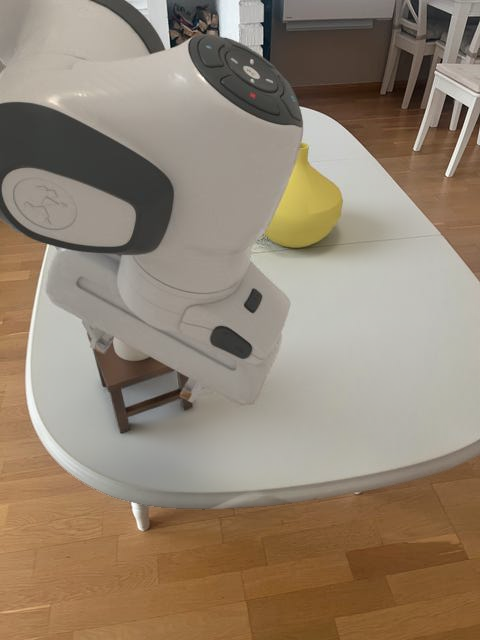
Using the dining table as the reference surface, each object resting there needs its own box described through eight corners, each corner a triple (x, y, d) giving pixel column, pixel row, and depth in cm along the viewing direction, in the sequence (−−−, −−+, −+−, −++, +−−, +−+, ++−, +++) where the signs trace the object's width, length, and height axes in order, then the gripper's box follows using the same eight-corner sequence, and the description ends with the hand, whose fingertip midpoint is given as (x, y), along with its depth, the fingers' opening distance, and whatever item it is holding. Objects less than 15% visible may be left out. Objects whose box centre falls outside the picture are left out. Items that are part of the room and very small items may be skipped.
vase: (264, 206, 117) (267, 121, 104) (345, 221, 112) (359, 133, 100) (236, 249, 104) (236, 158, 91) (326, 268, 99) (340, 174, 87)
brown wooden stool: (119, 435, 70) (107, 386, 64) (99, 380, 78) (86, 331, 71) (194, 407, 74) (190, 358, 67) (168, 357, 81) (162, 309, 75)
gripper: (31, 228, 37) (27, 340, 47) (285, 367, 37) (226, 448, 47) (81, 186, 41) (67, 297, 51) (309, 310, 41) (250, 396, 51)
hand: (145, 370), depth 49 cm, fingers open, 8 cm apart
